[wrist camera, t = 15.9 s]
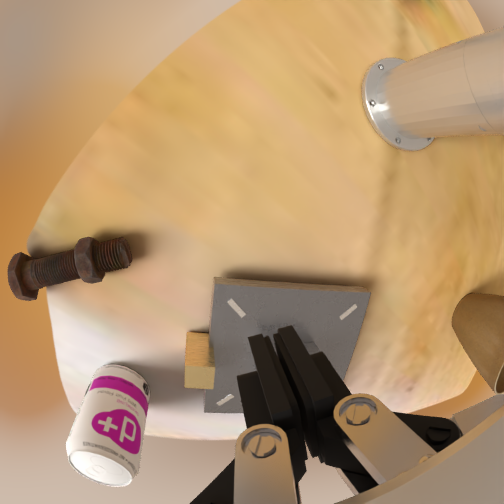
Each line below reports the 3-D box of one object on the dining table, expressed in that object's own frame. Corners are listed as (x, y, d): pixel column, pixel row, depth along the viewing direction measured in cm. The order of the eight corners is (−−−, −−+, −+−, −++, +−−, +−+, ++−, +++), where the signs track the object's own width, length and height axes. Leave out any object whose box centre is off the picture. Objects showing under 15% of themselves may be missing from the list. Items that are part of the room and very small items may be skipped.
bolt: (136, 249, 32) (35, 274, 30) (122, 215, 29) (15, 246, 26) (135, 288, 28) (25, 311, 26) (117, 254, 25) (1, 283, 22)
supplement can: (116, 350, 33) (83, 437, 19) (162, 389, 35) (154, 479, 21) (84, 379, 33) (51, 458, 19) (128, 413, 36) (112, 494, 21)
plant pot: (455, 268, 39) (530, 305, 23) (495, 278, 42) (554, 309, 26) (423, 351, 42) (481, 403, 27) (467, 348, 45) (518, 387, 30)
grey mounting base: (190, 271, 32) (188, 296, 25) (359, 283, 35) (387, 305, 29) (185, 396, 36) (184, 431, 29) (325, 394, 40) (342, 424, 33)
